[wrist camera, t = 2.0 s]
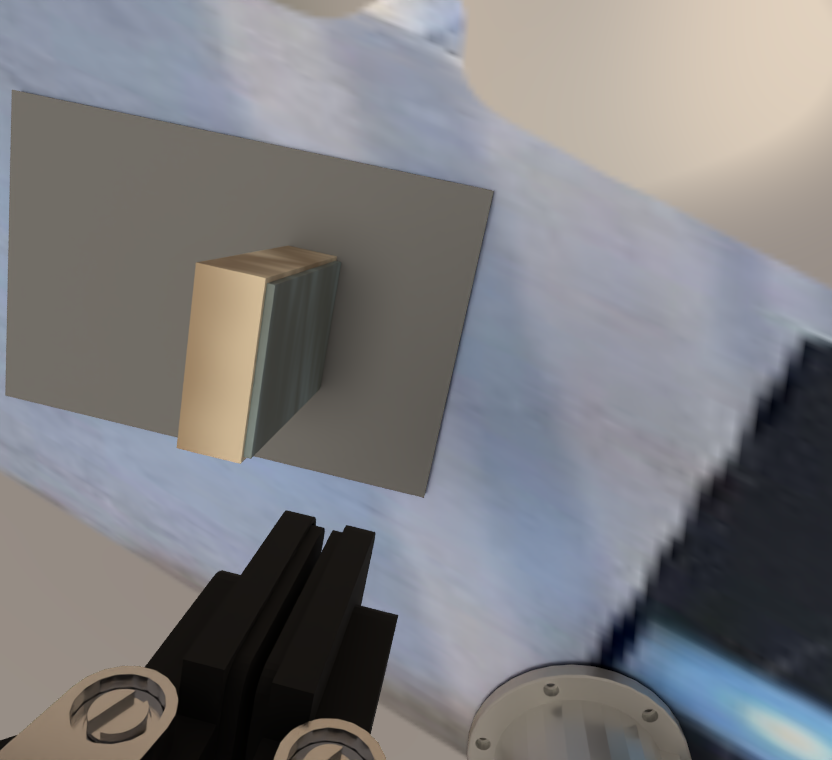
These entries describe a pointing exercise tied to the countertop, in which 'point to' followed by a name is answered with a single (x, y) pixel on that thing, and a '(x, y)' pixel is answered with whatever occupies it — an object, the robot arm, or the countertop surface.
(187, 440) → the card box
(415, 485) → the mat
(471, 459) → the countertop surface
